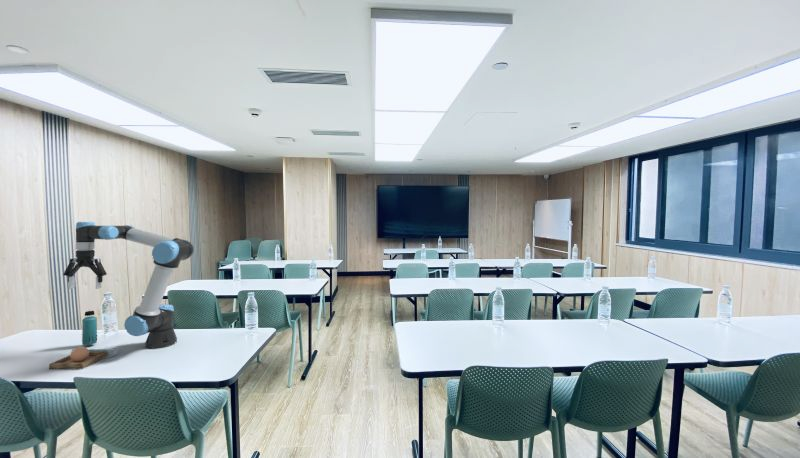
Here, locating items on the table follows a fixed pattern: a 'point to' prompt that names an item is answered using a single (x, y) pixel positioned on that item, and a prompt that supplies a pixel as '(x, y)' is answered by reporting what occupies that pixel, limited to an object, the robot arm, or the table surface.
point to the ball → (79, 354)
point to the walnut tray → (70, 364)
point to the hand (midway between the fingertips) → (85, 288)
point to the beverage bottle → (89, 329)
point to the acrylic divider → (109, 351)
